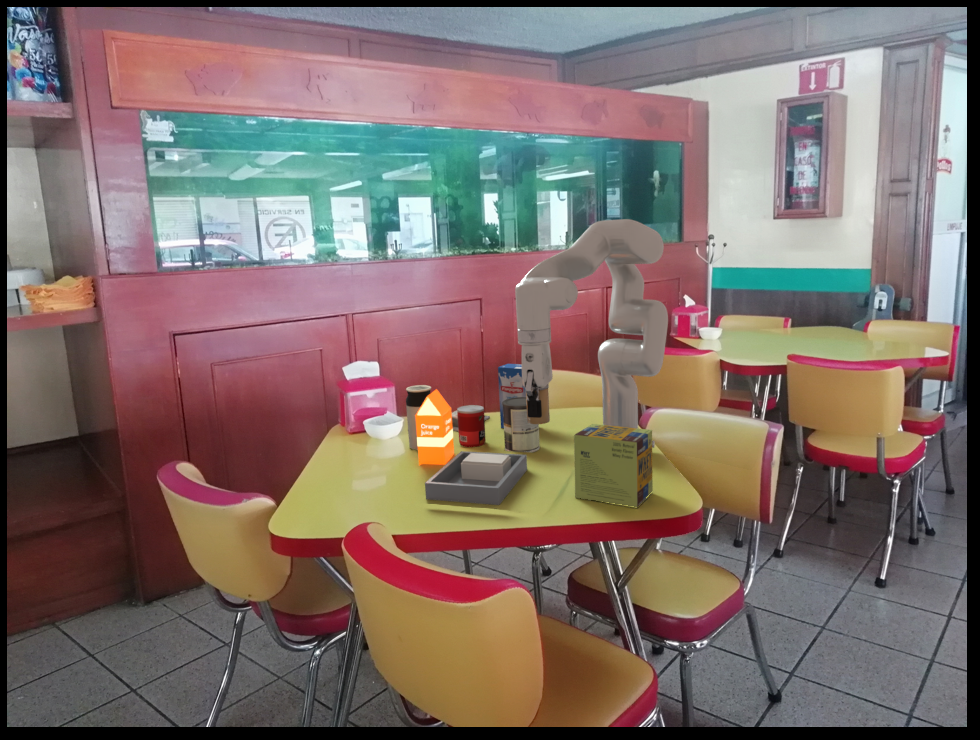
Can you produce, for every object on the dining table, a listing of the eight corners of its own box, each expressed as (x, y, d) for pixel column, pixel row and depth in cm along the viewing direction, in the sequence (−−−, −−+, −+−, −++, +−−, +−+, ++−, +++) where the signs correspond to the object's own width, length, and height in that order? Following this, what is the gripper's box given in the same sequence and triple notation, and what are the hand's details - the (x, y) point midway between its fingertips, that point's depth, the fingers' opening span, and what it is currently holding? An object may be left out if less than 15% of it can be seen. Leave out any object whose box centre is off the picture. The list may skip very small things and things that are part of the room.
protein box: (638, 509, 152) (637, 442, 149) (574, 498, 160) (572, 434, 157) (653, 493, 161) (653, 429, 158) (592, 483, 169) (591, 422, 166)
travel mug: (429, 451, 201) (425, 391, 197) (404, 449, 203) (400, 390, 200) (440, 443, 208) (436, 385, 205) (416, 441, 211) (412, 384, 207)
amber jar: (552, 418, 162) (550, 380, 160) (547, 424, 157) (545, 386, 155) (530, 417, 163) (528, 380, 161) (524, 424, 158) (522, 386, 156)
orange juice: (454, 457, 194) (450, 388, 190) (446, 468, 185) (441, 396, 182) (428, 457, 196) (423, 388, 192) (418, 467, 187) (413, 395, 183)
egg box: (511, 472, 177) (510, 454, 176) (503, 481, 170) (502, 463, 169) (471, 469, 180) (470, 452, 179) (461, 478, 174) (460, 461, 173)
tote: (527, 473, 178) (526, 454, 177) (499, 509, 156) (498, 488, 155) (462, 469, 184) (461, 451, 183) (426, 503, 162) (424, 482, 161)
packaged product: (465, 402, 238) (489, 405, 233) (465, 416, 239) (490, 419, 234) (434, 415, 223) (460, 418, 218) (435, 430, 224) (461, 433, 219)
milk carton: (537, 426, 221) (534, 365, 217) (527, 431, 216) (525, 369, 212) (510, 423, 226) (507, 363, 222) (500, 428, 221) (497, 367, 217)
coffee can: (497, 451, 198) (495, 403, 195) (517, 441, 206) (514, 395, 203) (527, 456, 192) (525, 407, 189) (546, 446, 200) (545, 398, 197)
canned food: (485, 447, 202) (483, 410, 200) (458, 448, 202) (456, 412, 200) (486, 439, 210) (484, 404, 207) (460, 440, 210) (457, 405, 208)
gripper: (541, 343, 147) (545, 424, 150) (558, 329, 162) (562, 404, 166) (507, 343, 149) (512, 423, 153) (528, 330, 165) (532, 403, 169)
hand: (538, 412), depth 159 cm, fingers closed on amber jar, 5 cm apart
